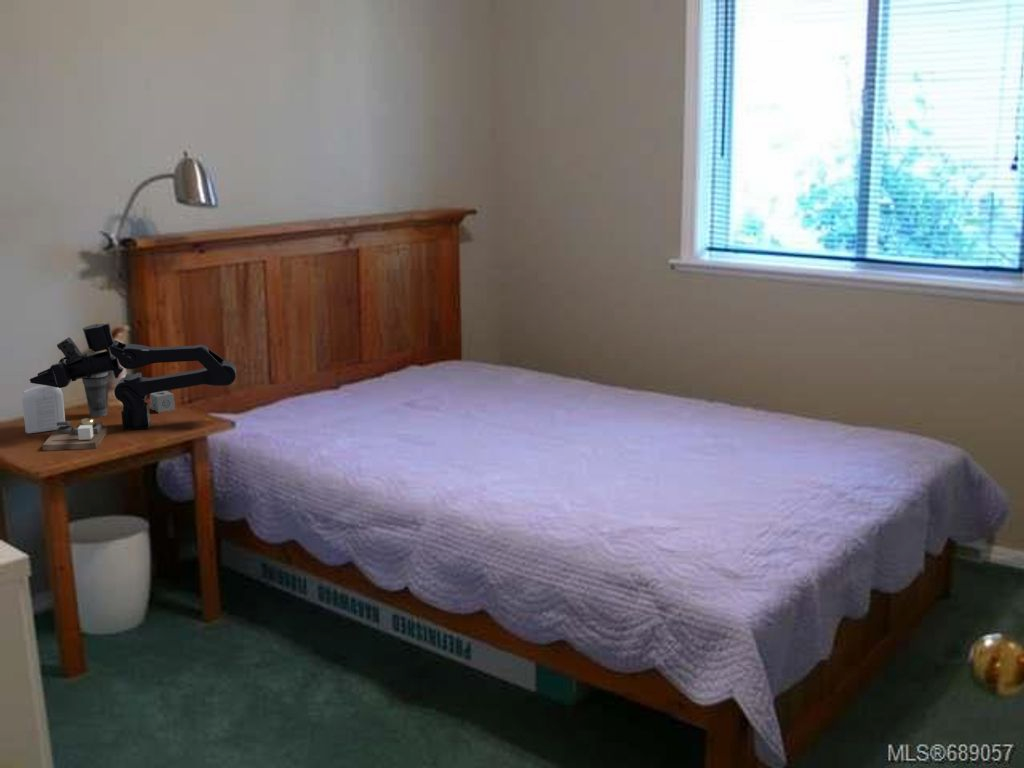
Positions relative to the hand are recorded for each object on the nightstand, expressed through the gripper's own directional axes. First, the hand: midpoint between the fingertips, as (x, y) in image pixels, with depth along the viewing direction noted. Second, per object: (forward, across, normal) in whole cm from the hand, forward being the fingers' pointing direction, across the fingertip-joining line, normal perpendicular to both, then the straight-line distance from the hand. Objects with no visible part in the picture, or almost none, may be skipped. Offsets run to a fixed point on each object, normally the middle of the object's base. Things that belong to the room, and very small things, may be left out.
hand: (34, 378), depth 294 cm
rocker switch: (-5, +6, +13) cm, 15 cm away
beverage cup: (-10, -15, +16) cm, 25 cm away
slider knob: (-11, +13, +17) cm, 24 cm away
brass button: (-11, +6, +15) cm, 20 cm away
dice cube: (-27, -17, +19) cm, 38 cm away
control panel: (-8, +10, +18) cm, 21 cm away
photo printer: (+2, -3, +15) cm, 15 cm away
